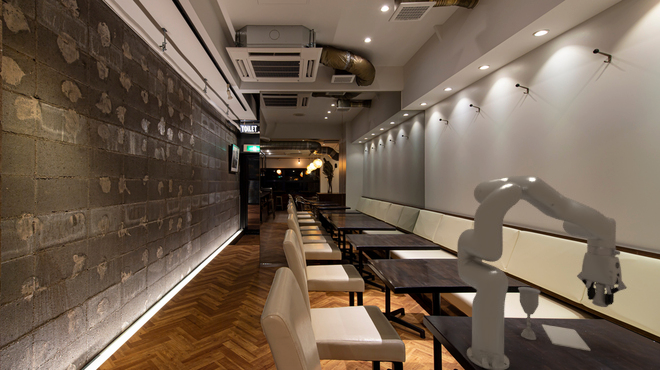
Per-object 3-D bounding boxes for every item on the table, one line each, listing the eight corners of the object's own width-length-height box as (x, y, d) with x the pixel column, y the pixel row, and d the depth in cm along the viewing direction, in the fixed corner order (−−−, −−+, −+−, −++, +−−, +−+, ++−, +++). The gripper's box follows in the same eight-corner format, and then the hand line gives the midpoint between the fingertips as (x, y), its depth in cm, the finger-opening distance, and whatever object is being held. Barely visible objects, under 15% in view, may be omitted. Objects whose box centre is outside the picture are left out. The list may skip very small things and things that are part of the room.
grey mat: (590, 351, 105) (590, 349, 105) (552, 344, 110) (552, 342, 110) (574, 330, 120) (574, 329, 120) (541, 325, 124) (541, 324, 124)
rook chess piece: (602, 308, 105) (603, 285, 105) (588, 303, 109) (589, 281, 109) (611, 306, 106) (612, 284, 106) (597, 302, 110) (597, 280, 110)
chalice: (533, 332, 118) (533, 287, 118) (544, 341, 111) (544, 293, 111) (514, 331, 119) (514, 286, 119) (523, 340, 112) (523, 292, 112)
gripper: (637, 255, 101) (636, 309, 101) (580, 245, 117) (579, 292, 116) (625, 257, 98) (624, 312, 98) (568, 247, 114) (567, 294, 114)
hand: (600, 301), depth 107 cm, fingers closed on rook chess piece, 4 cm apart
